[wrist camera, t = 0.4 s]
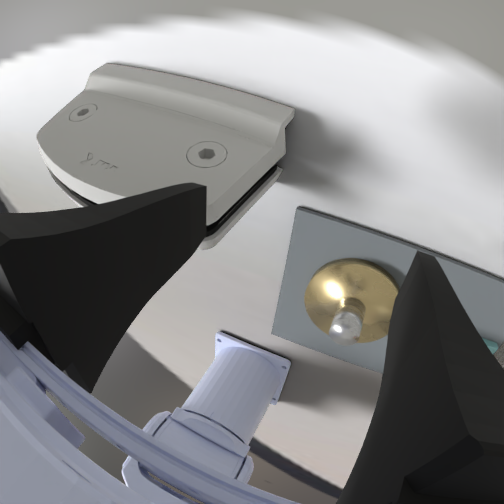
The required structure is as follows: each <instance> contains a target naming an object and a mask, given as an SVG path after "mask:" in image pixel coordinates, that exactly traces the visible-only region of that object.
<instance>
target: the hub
mask: <svg viewBox="0 0 504 504" xmlns="http://www.w3.org/2000/svg"><path fill="white" fill-rule="evenodd" d="M399 290H400V288H399V285H398V283H397V282H396V280H395V279H394V278H393V276H392V275H391V274H390V273H389V272H388V271H386V270H385V269H384V268H382V267H381V266H379V265H377V264H375V263H373V262H370V261H367V260H363V259H357V258H342V259H337V260H334V261H331V262H328V263H326V264H325V265H323V266H321V267H320V268H319V269H318V270H317V271H316V272H315V273H314V275H313V276H312V278H311V280H310V282H309V284H308V286H307V288H306V291H305V296H304V303H305V308H306V311H307V314H308V316H309V317H310V319H311V320H312V322H313V323H314V324H315V325H316V326H317V327H318V328H319V329H320V330H322V331H323V332H324V333H326V334H327V335H329V336H330V338H331V339H332V340H333V341H334V342H335V343H337V344H339V345H343V346H350V345H353V344H355V343H367V342H372V341H376V340H379V339H381V338H383V337H385V336H386V335H388V331H389V324H390V319H391V315H392V310H393V306H394V301H395V298H396V296H397V294H398V292H399Z"/></svg>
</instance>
